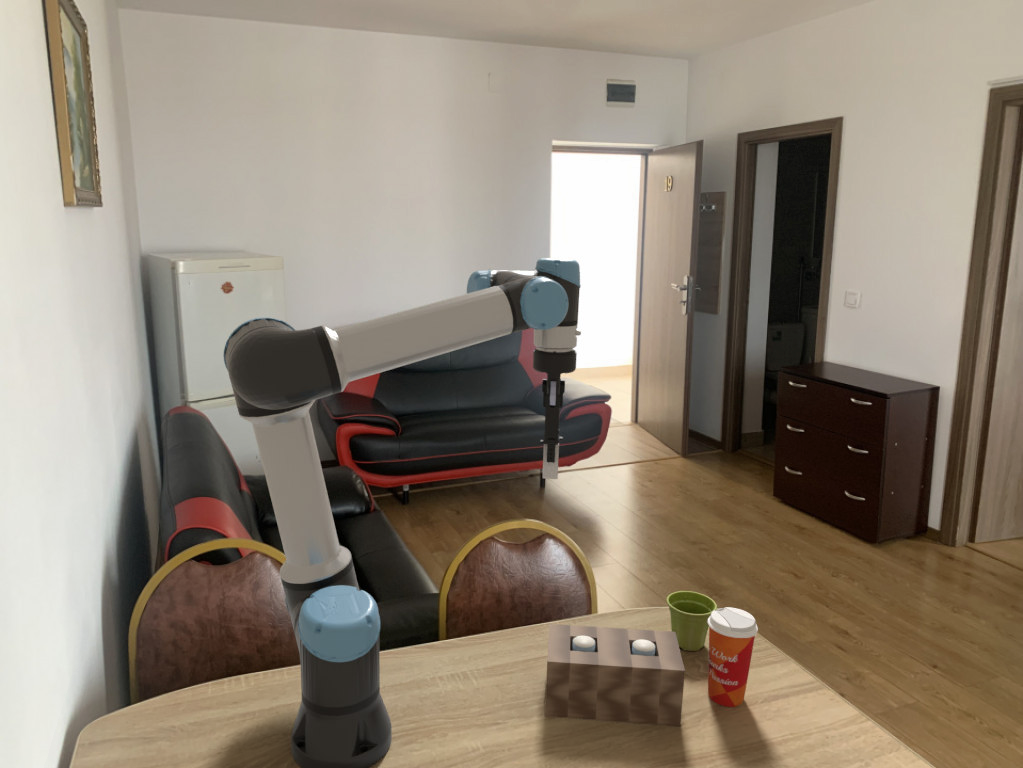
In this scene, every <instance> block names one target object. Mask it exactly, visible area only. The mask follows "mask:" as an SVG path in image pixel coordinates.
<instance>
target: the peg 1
mask: <svg viewBox="0 0 1023 768" xmlns="http://www.w3.org/2000/svg"><path fill="white" fill-rule="evenodd" d="M572 651H584V652H595V640H594V639H593V638H591V637H588V636H577V637H575V638H574V639H573V645H572Z"/></svg>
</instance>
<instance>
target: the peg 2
mask: <svg viewBox="0 0 1023 768" xmlns="http://www.w3.org/2000/svg"><path fill="white" fill-rule="evenodd" d="M632 655H645V656H655V645H654V644H653V643H652V642H651V641H648V640H643V639H640V640H636V641H634V642H633V644H632Z"/></svg>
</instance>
